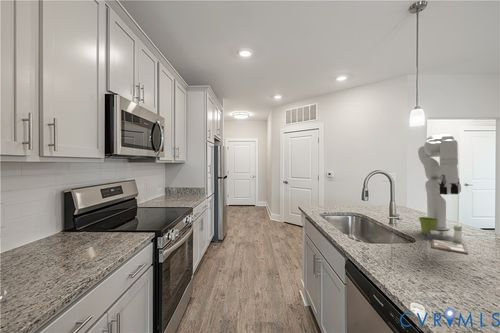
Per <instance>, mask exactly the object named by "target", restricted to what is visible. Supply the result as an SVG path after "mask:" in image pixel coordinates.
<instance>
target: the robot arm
mask: <svg viewBox="0 0 500 333" xmlns="http://www.w3.org/2000/svg"><path fill="white" fill-rule="evenodd" d="M458 145H459V144H458V141H457V140H456V139H455V137H454V136H453V135H452V134H451V135H450V134H440V135H439V134H437V135H435V134H434V135H430V136H429V137H427V138H426V140H425V143H424V144H423V145H422V146H420V147H419V148H418V151H417V154H418V158H419V160H420V163H421V164H422V165H423V168H424V174H425V177H426V179H427V180H426V181H425V185H424V186H425V193H426V214H427V215H426V217H429V218H435V219H438V222H437V224H436V230H435V231H449V230H450V227H449V226H447V201H446V200H445V198H444V197H443V196H442V195H444V196H445V195H455V196H456V195H459V194H460V193H461V192H462V185H461V182H460V180H461V179H460V178H459V170H458V165H459V161H458V160H459V152H458V151H459V150H458V147H459V146H458ZM434 157H435V158H438V157H439V162H438V161H437V160H436V159H434Z"/></svg>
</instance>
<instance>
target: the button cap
mask: <svg viewBox="0 0 500 333" xmlns="http://www.w3.org/2000/svg"><path fill="white" fill-rule="evenodd" d="M440 233H441V232H440V230H430V234H436V235H440Z"/></svg>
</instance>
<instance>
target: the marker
mask: <svg viewBox="0 0 500 333" xmlns="http://www.w3.org/2000/svg"><path fill="white" fill-rule="evenodd" d="M453 230H454V231H453V242H457V243H463V227H462V226H461V225H458V224H457V225H453Z"/></svg>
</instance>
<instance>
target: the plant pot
mask: <svg viewBox="0 0 500 333" xmlns="http://www.w3.org/2000/svg"><path fill="white" fill-rule="evenodd" d="M418 219H419V222H420V228H421V232H422V234H426V235H427V231H430V230H435V231H437V230H436V224H437V222H438V219H435V218H429V217H427V216H421V217H418Z"/></svg>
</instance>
